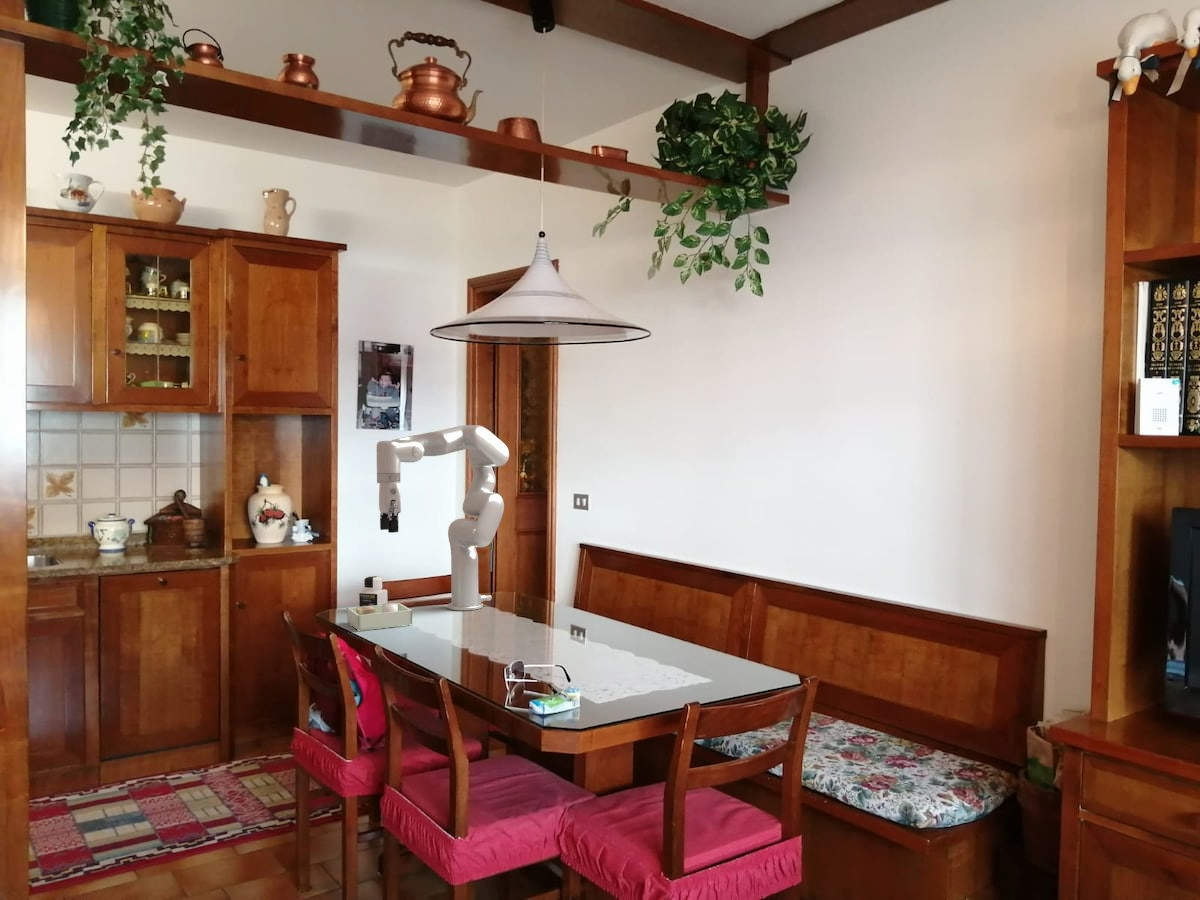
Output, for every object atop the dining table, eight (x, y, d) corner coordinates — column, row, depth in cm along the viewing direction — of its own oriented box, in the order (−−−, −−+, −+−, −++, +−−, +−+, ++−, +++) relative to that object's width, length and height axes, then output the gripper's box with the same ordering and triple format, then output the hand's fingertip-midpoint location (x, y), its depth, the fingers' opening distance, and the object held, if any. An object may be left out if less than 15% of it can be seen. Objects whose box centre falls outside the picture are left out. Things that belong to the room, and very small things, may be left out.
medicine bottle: (359, 612, 319) (358, 578, 319) (370, 608, 326) (369, 575, 326) (377, 613, 317) (376, 579, 317) (388, 609, 324) (387, 575, 323)
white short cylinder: (395, 619, 304) (395, 602, 304) (399, 621, 300) (399, 604, 300) (380, 620, 302) (380, 603, 302) (384, 623, 297) (384, 606, 297)
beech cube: (371, 621, 300) (371, 606, 300) (375, 624, 296) (375, 608, 296) (356, 623, 298) (356, 607, 298) (359, 626, 294) (359, 610, 294)
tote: (399, 617, 310) (399, 603, 310) (412, 625, 297) (412, 610, 297) (347, 623, 301) (347, 608, 301) (358, 631, 289) (357, 615, 289)
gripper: (407, 479, 294) (408, 532, 294) (392, 477, 309) (393, 527, 310) (384, 480, 290) (384, 534, 291) (370, 477, 306) (371, 529, 306)
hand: (389, 530), depth 300 cm, fingers open, 9 cm apart
